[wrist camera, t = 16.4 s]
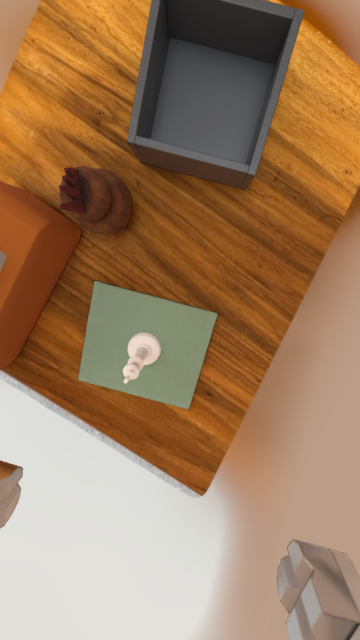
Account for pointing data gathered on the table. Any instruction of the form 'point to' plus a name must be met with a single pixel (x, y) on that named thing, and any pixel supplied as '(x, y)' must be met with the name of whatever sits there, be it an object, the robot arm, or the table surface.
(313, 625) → the robot arm
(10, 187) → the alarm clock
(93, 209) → the wooden figurine
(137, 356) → the chess piece
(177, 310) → the mat
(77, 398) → the table surface
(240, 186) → the tub
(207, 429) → the table surface
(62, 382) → the table surface
